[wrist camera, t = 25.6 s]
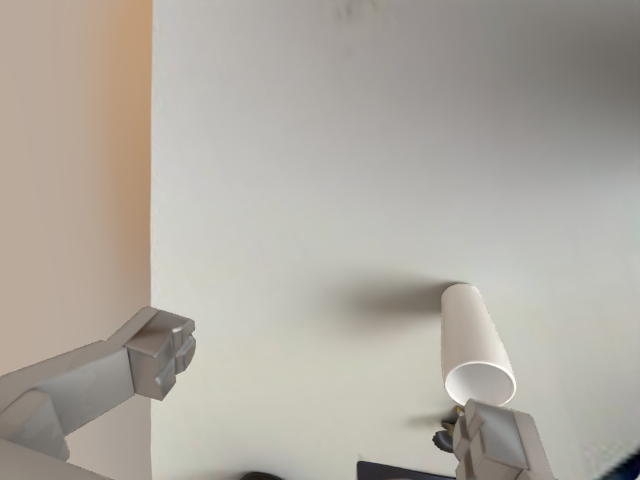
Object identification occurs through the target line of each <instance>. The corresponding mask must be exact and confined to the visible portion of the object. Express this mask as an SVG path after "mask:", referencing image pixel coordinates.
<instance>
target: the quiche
mask: <svg viewBox="0 0 640 480" xmlns="http://www.w3.org/2000/svg"><path fill="white" fill-rule="evenodd" d="M357 468H358V480H455V479H449V478H443V477H438V476H433V475H428V474H423V473H418V472H413V471H409V470H404V469H400V468H395V467H391V466H386V465H381V464H375V463H370V462H362V461H361V462H358V464H357Z"/></svg>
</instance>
